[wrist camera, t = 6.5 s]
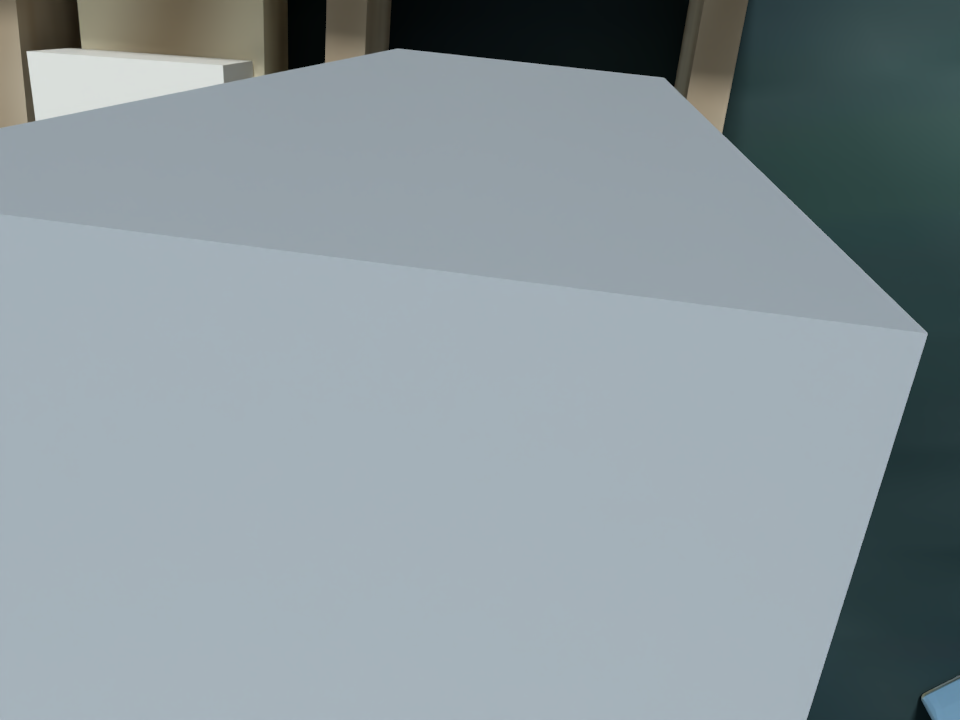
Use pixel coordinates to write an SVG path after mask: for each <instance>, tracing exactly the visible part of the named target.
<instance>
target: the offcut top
mask: <svg viewBox="0 0 960 720" xmlns="http://www.w3.org/2000/svg"><path fill="white" fill-rule="evenodd" d="M26 52H27V59H28V67H29V74H30V82H31V89H32V97H33V105H34V112H35V120H36V121H38V120H43V119H48V118H53V117H58V116H63V115H68V114H73V113H78V112H83V111H88V110H93V109H98V108H103V107H108V106H113V105H118V104H123V103H128V102H133V101H138V100H143V99H148V98H153V97H158V96H163V95H168V94H173V93H178V92H183V91H188V90H193V89H198V88H203V87H208V86H213V85H218V84H223V83H228V82H233V81H238V80H243V79H248V78H253V62H252V61H249V60H235V59H221V58H206V57H192V56H178V55H164V54H150V53H136V52H122V51H108V50H94V49H80V48H63V49H50V50H37V51H26Z"/></svg>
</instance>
